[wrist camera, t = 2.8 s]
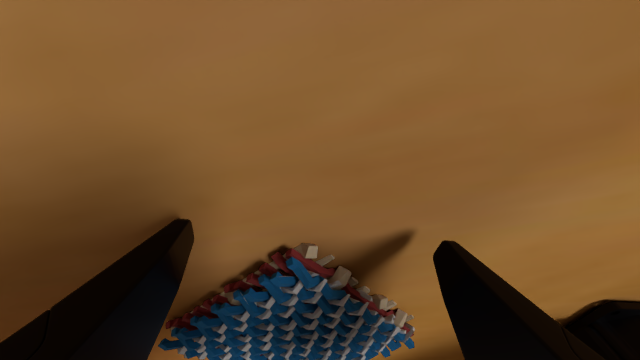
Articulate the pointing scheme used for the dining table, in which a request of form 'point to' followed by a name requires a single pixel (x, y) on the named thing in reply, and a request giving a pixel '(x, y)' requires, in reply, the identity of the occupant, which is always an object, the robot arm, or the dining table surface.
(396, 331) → the woven mat
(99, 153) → the dining table surface
